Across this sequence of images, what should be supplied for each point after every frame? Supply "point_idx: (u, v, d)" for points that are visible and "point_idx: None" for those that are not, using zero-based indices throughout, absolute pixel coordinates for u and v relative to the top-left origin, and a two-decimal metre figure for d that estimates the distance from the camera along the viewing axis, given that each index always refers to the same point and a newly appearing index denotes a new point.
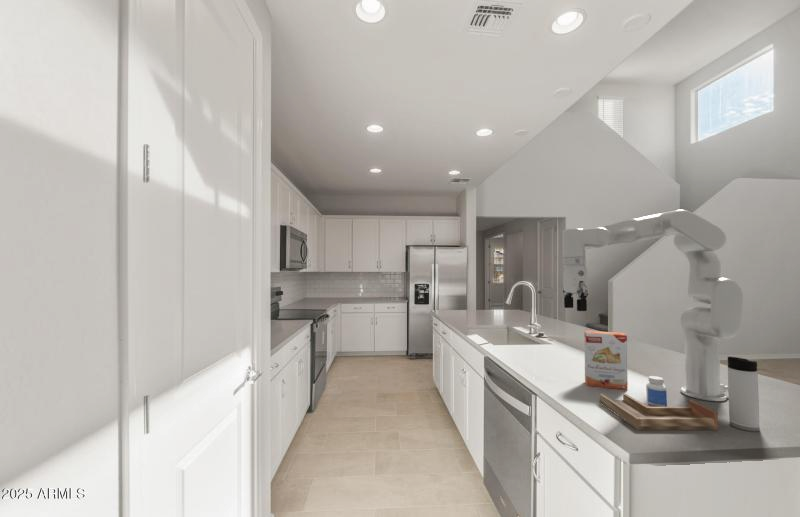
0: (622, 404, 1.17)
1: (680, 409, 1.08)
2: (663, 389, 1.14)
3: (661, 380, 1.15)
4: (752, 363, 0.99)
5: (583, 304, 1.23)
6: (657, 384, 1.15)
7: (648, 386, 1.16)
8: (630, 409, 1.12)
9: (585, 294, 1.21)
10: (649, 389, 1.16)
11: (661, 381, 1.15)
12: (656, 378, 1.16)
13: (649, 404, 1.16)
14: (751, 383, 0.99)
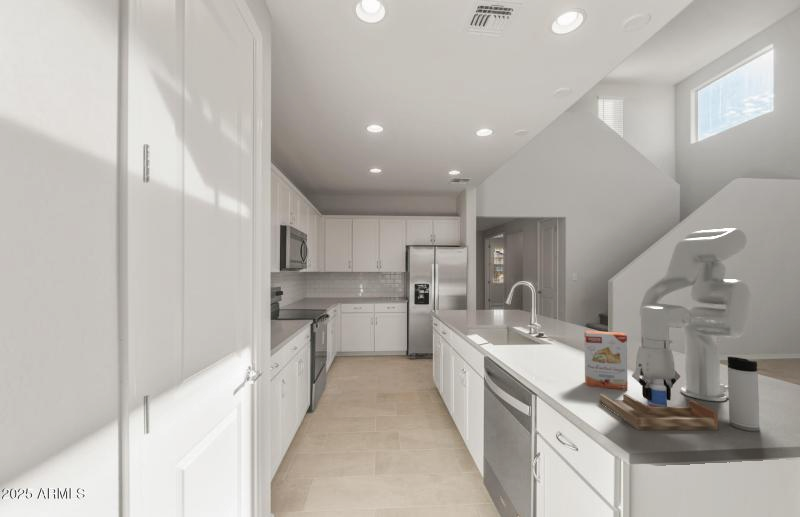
0: (622, 404, 1.17)
1: (680, 409, 1.08)
2: (663, 389, 1.14)
3: (661, 380, 1.15)
4: (752, 363, 0.99)
5: None
6: (657, 384, 1.15)
7: None
8: (630, 409, 1.12)
9: None
10: None
11: (661, 381, 1.15)
12: None
13: (649, 404, 1.16)
14: (751, 383, 0.99)
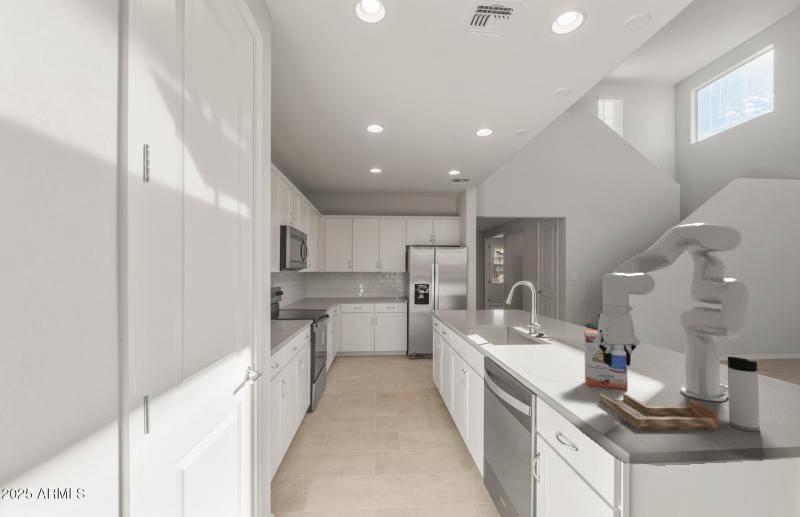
0: (622, 404, 1.17)
1: (680, 409, 1.08)
2: (622, 354, 1.15)
3: (621, 345, 1.16)
4: (752, 363, 0.99)
5: None
6: (617, 349, 1.16)
7: (609, 352, 1.18)
8: (630, 409, 1.12)
9: None
10: None
11: (621, 346, 1.16)
12: None
13: (609, 369, 1.17)
14: (751, 383, 0.99)
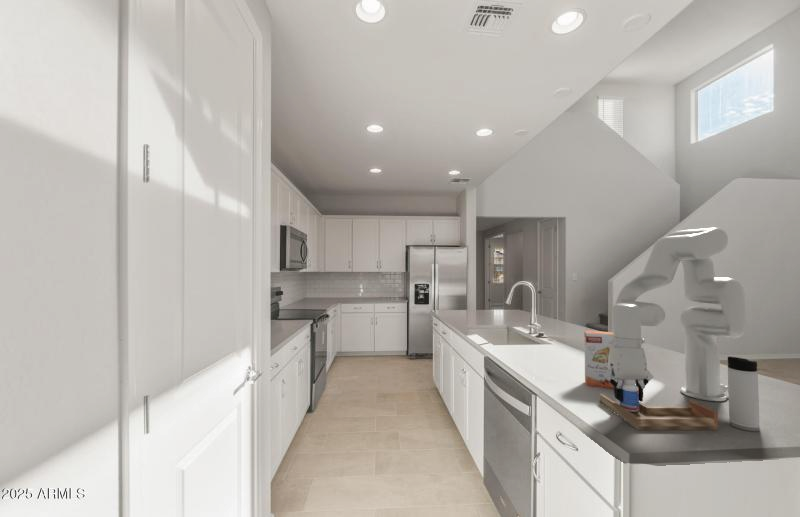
0: None
1: (680, 409, 1.08)
2: (635, 390, 1.10)
3: (633, 380, 1.10)
4: (752, 363, 0.99)
5: None
6: (629, 384, 1.11)
7: None
8: None
9: None
10: None
11: (633, 381, 1.10)
12: None
13: (621, 405, 1.12)
14: (751, 383, 0.99)
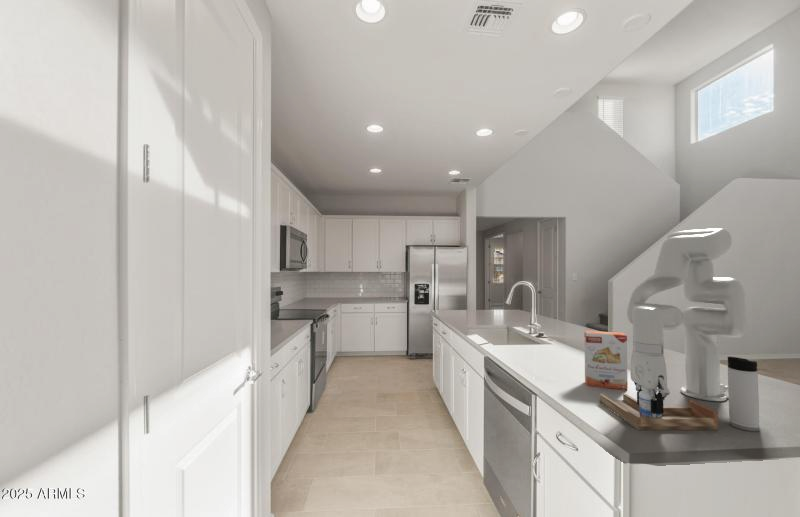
0: (622, 404, 1.17)
1: (680, 409, 1.08)
2: None
3: None
4: (752, 363, 0.99)
5: None
6: None
7: None
8: (630, 409, 1.12)
9: None
10: None
11: None
12: None
13: None
14: (751, 383, 0.99)
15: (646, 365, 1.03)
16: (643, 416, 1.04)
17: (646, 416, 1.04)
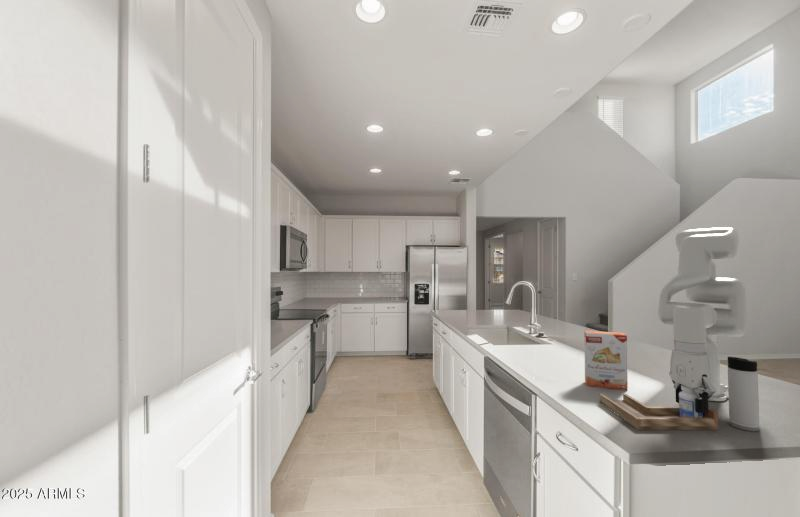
0: (622, 404, 1.17)
1: None
2: None
3: None
4: (752, 363, 0.99)
5: None
6: None
7: None
8: (630, 409, 1.12)
9: None
10: None
11: None
12: None
13: None
14: (751, 383, 0.99)
15: (689, 364, 1.02)
16: (684, 417, 1.04)
17: (687, 417, 1.03)
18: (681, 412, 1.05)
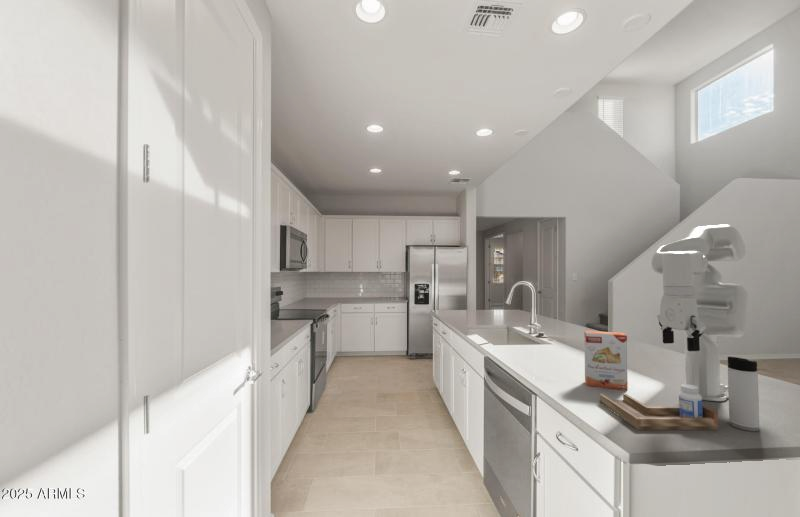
0: (622, 404, 1.17)
1: None
2: None
3: None
4: (752, 363, 0.99)
5: None
6: None
7: (697, 398, 1.03)
8: (630, 409, 1.12)
9: None
10: (699, 401, 1.02)
11: None
12: (692, 386, 1.05)
13: None
14: (751, 383, 0.99)
15: (678, 307, 1.06)
16: (684, 417, 1.04)
17: (687, 417, 1.03)
18: (681, 412, 1.05)
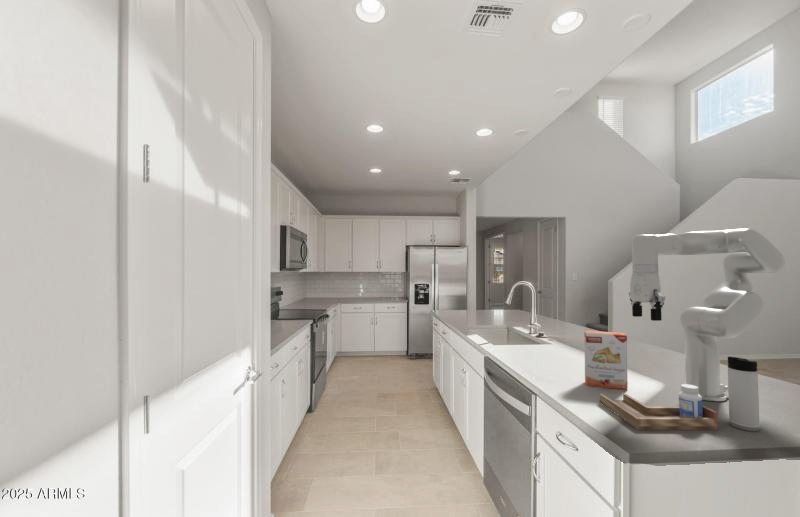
0: (622, 404, 1.17)
1: None
2: None
3: None
4: (752, 363, 0.99)
5: None
6: None
7: (697, 398, 1.03)
8: (630, 409, 1.12)
9: None
10: (699, 401, 1.02)
11: None
12: (692, 386, 1.05)
13: None
14: (751, 383, 0.99)
15: (643, 282, 1.21)
16: (684, 417, 1.04)
17: (687, 417, 1.03)
18: (681, 412, 1.05)
